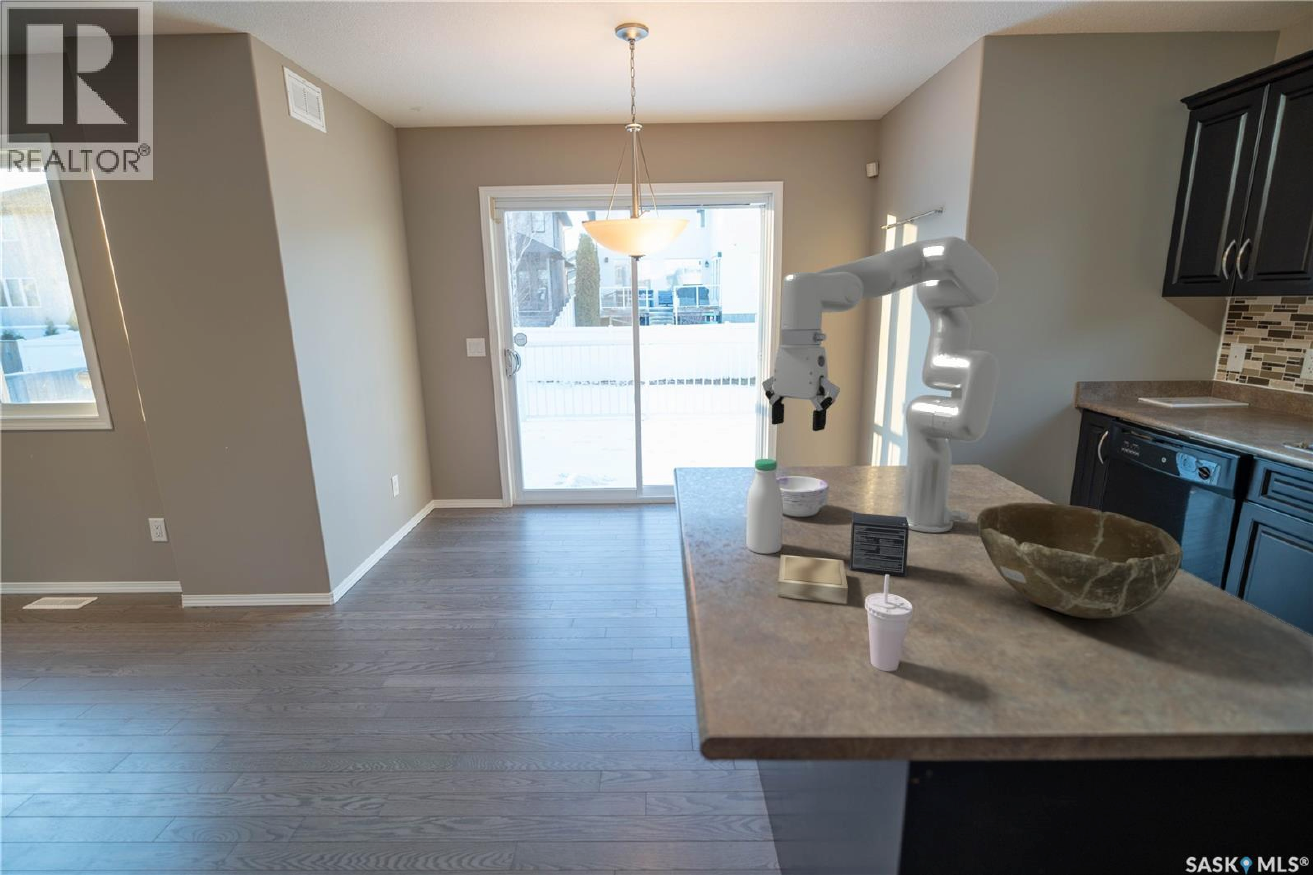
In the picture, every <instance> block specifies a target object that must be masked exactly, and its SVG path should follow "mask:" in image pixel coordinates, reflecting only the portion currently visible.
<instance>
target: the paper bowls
mask: <svg viewBox="0 0 1313 875" xmlns="http://www.w3.org/2000/svg"><path fill="white" fill-rule="evenodd" d="M776 480H777V483H778V485H779V487H780V490H781V493H782V499H783V515H786V516H789V517H796V518H800V517H801V518H805V517H806V518H807V517H811V516H814V515H816V514H817V513H819V511H820V509H821V507H825V506H826V505H828V503H829V484H828V483H827V481H825V480H822V479H819V478H815V477H809V476H799V475H798V476H797V475H794V476H793V475H790V476H781V477H776Z"/></svg>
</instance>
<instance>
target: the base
mask: <svg viewBox="0 0 1313 875" xmlns="http://www.w3.org/2000/svg"><path fill="white" fill-rule="evenodd" d="M779 559H780V560H779V570H778V580H777V585H778V586H777V597H778V598H779V597H780V598H785V599H787V598H789V599H795V600H796V599H797V600H798V599H799V600H804V601H805V600H806V601H815V602H827V603H834V604H845V605H847V604H848V590H849V588H848V581H847V576H846V569H845V564H844V560H843V559H834V558H833V559H832V558H821V557H811V556H800V555H799V556H797V555H786V554H780V558H779Z"/></svg>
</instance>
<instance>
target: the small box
mask: <svg viewBox="0 0 1313 875" xmlns="http://www.w3.org/2000/svg"><path fill="white" fill-rule="evenodd" d="M850 531H851V532H850V549H849V552H850V554H849V570H850V571H854V572H863V573H864V572H865V573H870V574H871V573H872V574H881V575H886V574H887V575H889V576H895V577H906V576H907V574H908V573H907V567H908V566H907V562H908V551H909V550H908V549H909V547H908V546H909V535H910V534H909V533H910V532H909V531H910V529H909V524H908V521H907V518H906V517H899V516H896V515H887V514H886V515H885V514H884V515H883V514H873V513H861V512H852V514H851V528H850Z"/></svg>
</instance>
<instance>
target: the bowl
mask: <svg viewBox="0 0 1313 875" xmlns="http://www.w3.org/2000/svg"><path fill="white" fill-rule="evenodd" d="M976 519H977V520H976V521H977V528H978V533H979V536H980V540H981V543H982V544H983V546H984V549H985V551H986V553H987V556H988V557H989V559H990V561H991V563H992V564H993V566H994V568H995V569H996V571H997V572H998V573H999V575H1000V576H1001V577H1002V578H1003V579H1004V581H1005V582H1007V584H1008V585H1010V586H1011V587H1012V588H1013V589H1014V590H1015V591H1016V592H1017V593H1019V594H1020V596H1021V595H1022V596H1023V597H1024V598H1026V599H1028V600H1029V601H1030V602H1032V603H1034V604H1036V605H1038V606H1041V607H1043V608H1045V607H1046V608H1048V609H1049V610H1053V611H1055V612H1058V613H1061V614H1064V615H1067V616H1071V617H1076V618H1081V619H1095V620H1096V619H1098V620H1099V619H1111V618H1116V617H1117V618H1118V617H1123V616H1124V617H1125V616H1128V615H1132V614H1135V613H1138V612H1141V611H1143V610H1145V609H1146V608H1148V607H1149V606H1151V605H1153V604H1154V603H1155V602H1156V601H1158V600H1159V598H1160V597H1162V595H1163V594H1164V593H1165V591H1166V590H1167V589H1168V587H1169V586H1170V585H1171V583H1172V582H1173V581H1174V579H1175V577H1176V575H1177V574H1178V571H1179V569H1180V566H1181V563H1182V560H1183V555H1184V552H1183V549H1182V547H1181V545H1180V544H1179V542H1178V541H1177V540H1175V539H1174V537H1173V536H1171V535H1170V534H1169V533H1168V532H1166V531H1165V530H1164V529H1163V528H1160V527H1158V526H1155V525H1154V524H1150V523H1147V522H1144V521H1143V522H1142V521H1140V520H1137V519H1136V518H1135V519H1134V518H1132V517H1128V516H1126V515H1122V514H1120V513H1116V512H1115V513H1114V512H1110V511H1105V512H1103V511H1101V510H1100V509H1095V508H1094V509H1093V508H1089V507H1087V506H1086V507H1085V506H1080V505H1072V504H1061V503H1046V502H1044V503H1043V502H1010V503H1005V504H1003V503H1002V504H998V505H993V506H987V507H984V508H983V509H981V510H980V511H979V513H978V514H977V517H976Z"/></svg>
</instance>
